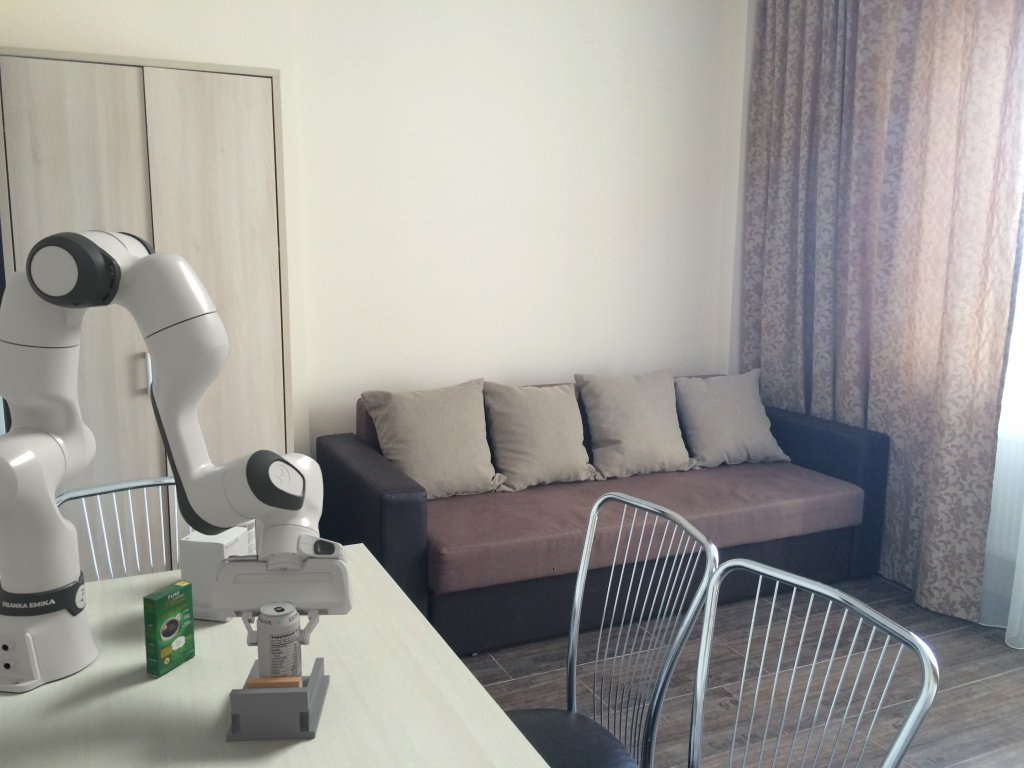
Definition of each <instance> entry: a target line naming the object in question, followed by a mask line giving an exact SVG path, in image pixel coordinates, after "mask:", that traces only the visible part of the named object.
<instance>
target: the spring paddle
mask: <svg viewBox="0 0 1024 768" xmlns="http://www.w3.org/2000/svg"><path fill="white" fill-rule="evenodd" d="M295 687H301V677H281V678H249V679H248V681H247V689H261V688H295Z"/></svg>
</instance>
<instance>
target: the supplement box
mask: <svg viewBox="0 0 1024 768" xmlns="http://www.w3.org/2000/svg"><path fill="white" fill-rule="evenodd" d="M232 555H238V556H245V555H248V529H247V528H244V527H233V528H231V529H229V530H226V531H224V532H222V533H220V534H218V535H213V536H210V535H204V534H201V533H199V532H198V531H196V530H193V531H192V532H190V533H189V534H188V535H186V536H185V537H183V538H180V539H179V560H180V576H181V577H180V578H181V580H183V581H187V582H191V583H192V598H193V619H197V620H207V621H214V622H223V623H227V622H229V621H230V620H231V619H232V618H233V617H229V618H220V617H218V616H217V615H216V613H215V612H214V611H213V609H212V607H211V600H212V596H213V592H214V588H215V585H216V582H217V580H216V572H217V567H218V564H219V563H220V562H221V561H222V560H224V559H226V558H228V557H229V556H232ZM226 562H228V561H226Z"/></svg>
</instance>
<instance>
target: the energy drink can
mask: <svg viewBox="0 0 1024 768" xmlns="http://www.w3.org/2000/svg"><path fill="white" fill-rule="evenodd" d="M260 611H261V613H260V615H259V617H257V619H256V631H257V644H258V646H257V659H258V667H259V678H281V677H301V687H302V676H303V667H302V666H303V665H302V663H303V662H302V645H300V643H299V642H298V640H299V635H300V630H301V616H300V615H299V614H298V612H297V611H296V609H295V604H294V603H292V602H289V601H284V602H278V601H275V602H270V603H268V604H265V605H264V606H262V607H261V610H260Z"/></svg>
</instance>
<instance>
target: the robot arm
mask: <svg viewBox="0 0 1024 768" xmlns="http://www.w3.org/2000/svg"><path fill="white" fill-rule="evenodd" d="M0 303H1V304H0V397H1V398H3V399H4V400H6V403H7V405H8V408H9V413H10V419H11V425H10V428H9V431H8V432H5V433H3V434H0V692H7V693H8V692H10V693H24V692H25V693H26V692H28V691H30V690H33V689H35V688H38V687H40V686H41V685H44V684H46V683H49V682H52V681H57V680H60V679H62V678H66V677H68V676H70V675H74V674H76V673H77V672H79V671H82V670H83V669H85V668H87V667H88V666H89V665H90V664H92V663H93V662H94V661H95V660H96V658H97V657H98V655H99V648H98V646H97V644H96V641H95V639H94V637H93V634H92V632H91V628H90V623H89V621H88V617H87V616H88V615H87V611H86V605H87V603H86V601H87V591H86V586H85V584H86V583H85V578H84V576H85V575H84V572H83V571H82V570H81V565H80V552H79V543H78V541H79V540H78V532H77V528H76V526H75V525H74V524H73V523H72V522H71V521H70V520H68V519H67V518H64V517H63V515H62V514H61V511H60V509H59V506H58V505H57V504H58V503H57V501H56V491H57V489H59V488H60V487H61V486H64V485H65V484H66V485H67V483H70V482H71V481H73V480H75V479H76V478H77V477H79V476H80V475H82V473H83V472H84V471H85V470H86V469H87V468H88V466H89V465H90V464H91V463H92V461H93V460H94V458H95V456H96V452H97V443H96V438H95V436H94V433H93V431H92V430H91V429H90V428H89V426H88V425H86V424H85V423H84V420H83V417H82V411H81V407H80V402H79V401H80V400H79V396H78V395H79V393H78V383H79V382H78V381H79V378H78V377H79V365H80V364H79V363H80V349H81V337H82V336H81V335H82V323H83V319H84V315H85V313H86V312H87V310H88V309H90V308H100V307H108V306H112V305H114V304H115V305H118V306H121V307H123V308H124V309H126V310H127V311H128V312H129V313H130V314H131V316H132V317H133V320H134V321H135V323H136V324H137V325H136V326H137V327H138V329H139V330H138V331H139V332H140V335H141V336H142V338H143V341H144V342H145V346H146V348H147V351H148V353H149V357H150V362H151V370H152V371H151V372H152V380H151V383H150V386H149V395H150V396H149V397H150V403H151V406H152V409H153V413H154V418H155V420H156V421H155V422H156V424H157V427H158V432H159V433H160V436H161V440H162V444H163V446H164V450H165V453H166V456H167V459H168V462H169V465H170V468H171V469H170V470H171V473H172V477H173V479H174V485H175V491H176V498H177V499H176V501H177V506H178V509H179V513H180V515H181V517H182V519H183V521H184V522H185V523H186V524H187V525H188V526H189V527H190V528H192V529H193V531H195V530H196V531H198V532H199V533H201V534H204V535H210V536H213V535H218V534H220V533H222V532H224V531H226V530H229V529H231V528H233V527H235V526H236V525H239V524H242V523H245V522H248V521H251V520H258V521H261V522H262V523H263V527H262V530H261V533H260V539H259V540H260V543H259V548H258V554H256V555H245V556H238V555H232V556H229V557H228V558H226V559H224V560H222V561H221V562H220V563H219V564H218V567H217V572H216V580H217V582H216V585H215V588H214V592H213V596H212V600H211V607H212V609H213V611H214V612H215V613H216V615H217V616H218V617H220V618H229V617H232V618H241V620H242V623H243V625H244V628H245V630H246V631H247V634H246V635H247V637H246V645H247V646H248V647H258V644H257V630H254V629H253V627H252V624H255V620H256V618H258V617H259V615H260V613H261V611H260V610H261V607H262V606H264V605H265V604H268V603H270V602H275V601H278V602H284V601H289V602H292V603H294V604H295V609H296V611H297V612H298V614H299V615H300V617H301V616H302V617H307V619H308V621H307V623H306V625H305V627H304V629H302V628H301V629H300V635H299V640H298V642H299V643H300V645H301V646H302V645H303V646H305V645H307V646H308V645H309V644H310V638H311V634H312V633H313V631H314V630H315V628H316V627H317V625H318V624H320V623H319V622H320V616H341V615H343V616H346V615H348V614H349V613H350V611H351V610H353V609H352V608H353V587H352V580H351V575H350V572H349V569H348V566H347V564H348V563H347V562H348V559H347V554H346V551H345V550H346V549H344V547H343V545H342V544H341V543H339V542H337V541H336V542H335V541H333V540H329V539H325V538H322V537H320V536H321V535H320V530H319V522H320V519H321V516H322V513H323V505H324V504H323V502H324V482H323V481H324V480H323V473H322V470H321V467H320V464H319V463H318V462H317V461H316V460H315V459H313V458H312V457H310V456H309V455H306V454H303V453H298V452H289V453H285V454H283V455H280V454H278V453H276V452H274V451H272V450H269V449H260V450H256V451H251V452H249V453H246V454H244V455H243V454H242V456H238V457H236V458H234V459H232V460H228V461H227V462H224V463H221V464H219V465H215V464H214V463H212V460H211V458H210V455H209V451H208V448H207V445H206V441H205V438H204V435H203V432H202V427H201V424H200V422H199V416H198V409H199V408H198V407H199V404H200V401H201V399H202V398H203V395H204V394H205V392H206V391H207V389H208V388H209V387H210V386H211V384H212V383H213V382H214V381H215V380H216V379H217V378H218V377H219V375H220V374H221V372H222V371H223V369H224V367H225V365H226V363H227V360H228V357H229V354H230V340H229V336H228V333H227V330H226V327H225V325H224V323H223V321H222V318H221V316H220V314H219V312H218V310H217V308H216V306H215V304H214V302H213V300H212V298H211V296H210V294H209V292H208V291H207V289H206V288H205V286H204V284H203V282H202V280H201V278H199V276H198V275H197V273H196V271H195V270H194V269H193V267H192V266H191V264H190V263H189V262H188V261H187V260H186V259H185V258H184V257H183V256H181V255H180V254H177V253H173V252H156V251H155V249H154V247H152V246H151V245H150V243H149V242H147V240H145V239H143V238H141V237H140V236H137V235H135V234H132V233H129V232H125V231H117V232H116V231H111V230H105V229H104V230H101V229H100V230H99V229H88V230H86V231H77V232H73V231H64V232H58V233H54V234H51V235H48V236H46V237H44V238H42V239H40V240H39V241H37V242H36V243H35V244H34V245H33V246H32V248H31V249H30V251H29V253H28V255H27V257H26V261H25V267H23V268H21V269H18V270H16V271H14V272H13V273H12V274H11V275H10V276H9V278H8V280H7V283H6V286H5V289H4V292H3V296H2V298H1V302H0ZM226 561H228V562H226Z"/></svg>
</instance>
